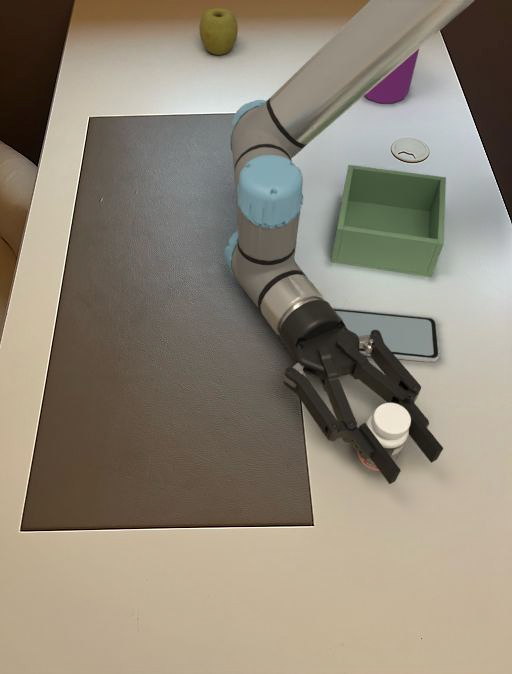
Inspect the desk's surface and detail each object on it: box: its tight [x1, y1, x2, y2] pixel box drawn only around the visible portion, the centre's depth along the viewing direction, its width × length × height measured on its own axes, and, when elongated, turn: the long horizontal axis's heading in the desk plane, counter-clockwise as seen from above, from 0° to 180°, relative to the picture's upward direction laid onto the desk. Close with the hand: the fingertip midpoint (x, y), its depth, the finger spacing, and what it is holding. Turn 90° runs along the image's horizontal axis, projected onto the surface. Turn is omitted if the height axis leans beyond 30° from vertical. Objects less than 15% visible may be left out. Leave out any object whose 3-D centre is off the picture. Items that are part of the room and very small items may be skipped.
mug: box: [363, 48, 420, 104], centre depth 114 cm, size 9×16×15 cm, turn 164°
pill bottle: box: [357, 402, 411, 471], centre depth 71 cm, size 5×5×8 cm
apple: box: [198, 7, 239, 56], centre depth 124 cm, size 8×8×7 cm
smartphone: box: [332, 307, 441, 363], centre depth 84 cm, size 7×1×15 cm
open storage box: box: [330, 164, 447, 278], centre depth 93 cm, size 15×15×7 cm
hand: (416, 466), depth 67 cm, fingers open, 5 cm apart
